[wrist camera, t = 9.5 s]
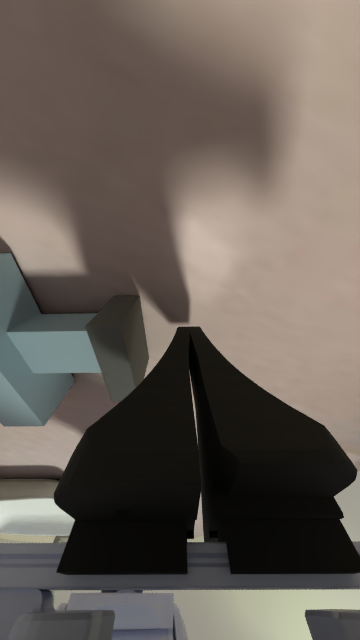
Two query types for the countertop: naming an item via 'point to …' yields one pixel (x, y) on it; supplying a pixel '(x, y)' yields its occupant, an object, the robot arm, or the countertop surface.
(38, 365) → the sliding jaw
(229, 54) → the countertop surface
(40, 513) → the salad plate
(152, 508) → the robot arm
